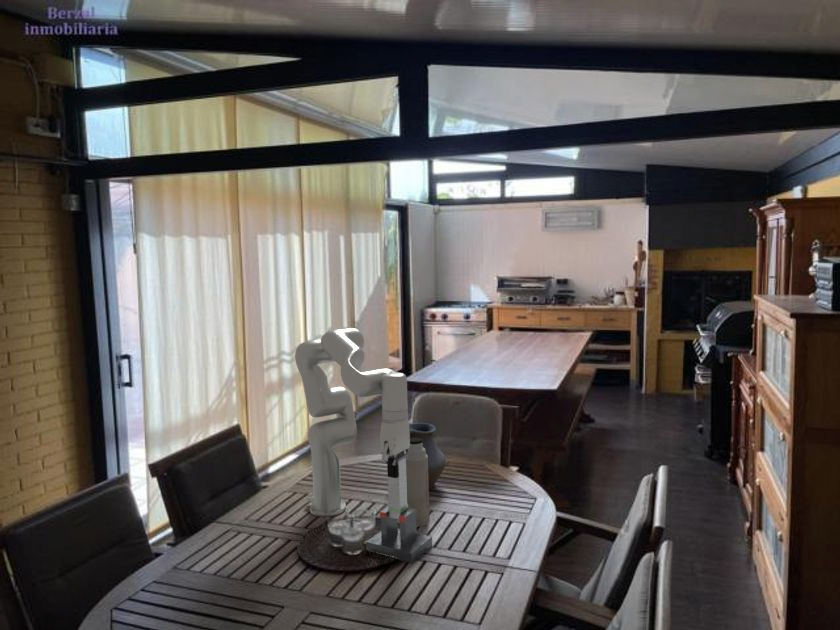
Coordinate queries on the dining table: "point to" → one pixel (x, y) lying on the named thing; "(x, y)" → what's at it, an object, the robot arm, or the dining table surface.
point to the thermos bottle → (418, 481)
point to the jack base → (399, 537)
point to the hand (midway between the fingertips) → (397, 474)
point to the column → (398, 488)
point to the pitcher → (429, 450)
